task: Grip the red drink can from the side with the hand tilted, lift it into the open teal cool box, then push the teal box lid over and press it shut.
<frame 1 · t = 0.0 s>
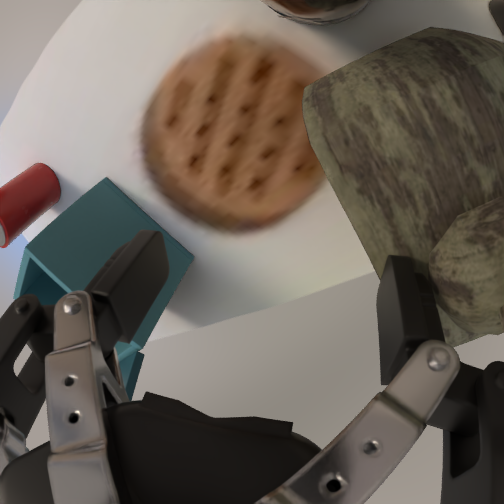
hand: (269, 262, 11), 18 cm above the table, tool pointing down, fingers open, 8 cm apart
teal open box: (127, 243, 38), on the table
can: (44, 184, 35), on the table
teal box lid: (98, 429, 24), point 21 cm above the table, hinge at 100.0°
tabletop clock: (405, 123, 23), on the table, touching gripper
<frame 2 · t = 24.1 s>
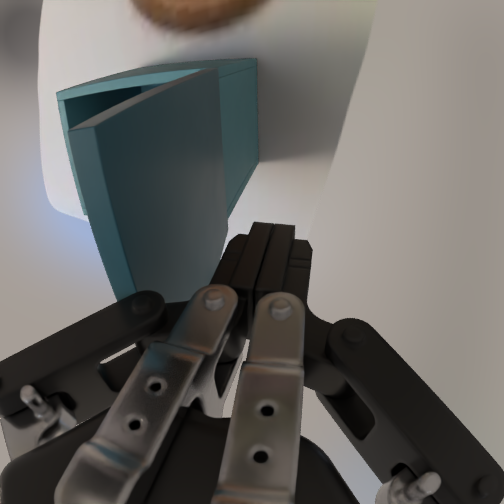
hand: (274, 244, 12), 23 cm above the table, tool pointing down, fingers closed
teal open box: (195, 112, 33), on the table
teal box lid: (190, 206, 15), point 21 cm above the table, hinge at 97.0°, touching gripper, hand
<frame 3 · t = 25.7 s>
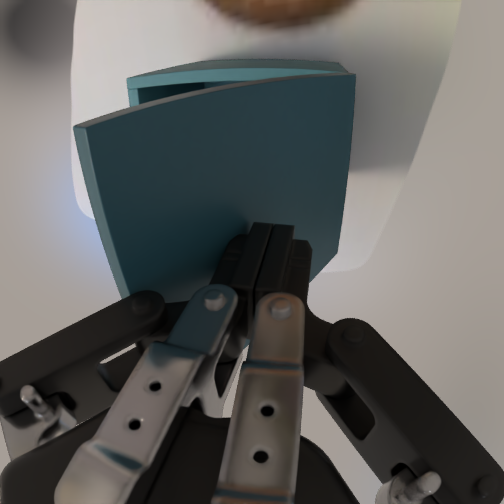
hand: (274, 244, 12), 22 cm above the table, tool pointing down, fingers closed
teal open box: (267, 115, 30), on the table
teal box lid: (271, 219, 14), point 20 cm above the table, hinge at 63.4°, touching gripper
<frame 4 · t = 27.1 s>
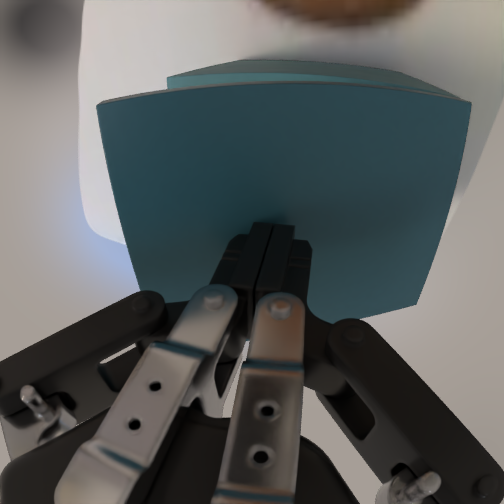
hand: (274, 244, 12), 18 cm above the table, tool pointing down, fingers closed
teal open box: (317, 127, 26), on the table
teal box lid: (310, 229, 13), point 17 cm above the table, hinge at 22.9°
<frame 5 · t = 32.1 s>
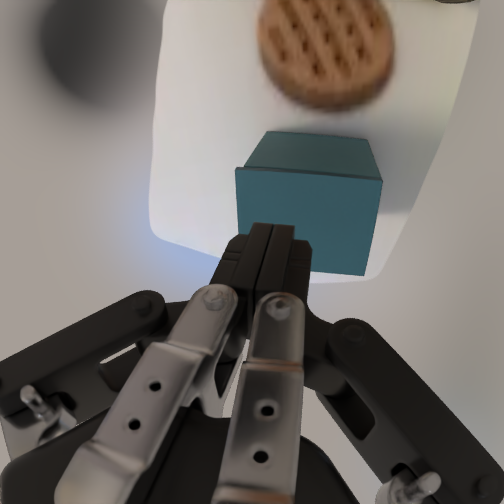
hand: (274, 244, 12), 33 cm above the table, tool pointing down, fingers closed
teal open box: (314, 173, 44), on the table
teal box lid: (306, 224, 33), point 14 cm above the table, hinge at 1.3°
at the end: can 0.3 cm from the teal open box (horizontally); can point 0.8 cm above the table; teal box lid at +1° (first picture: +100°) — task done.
